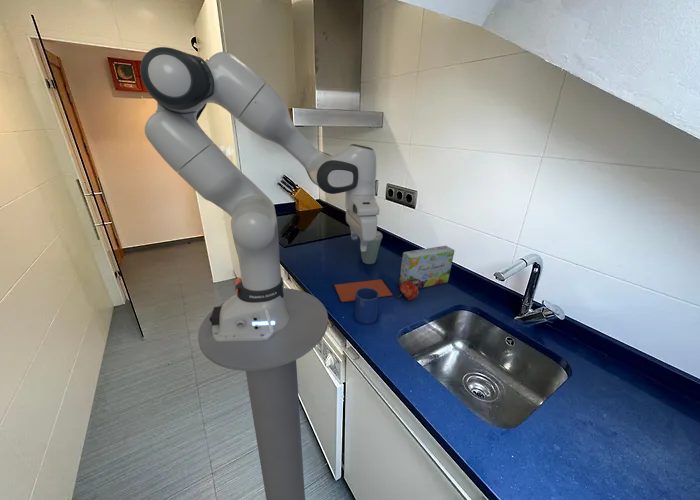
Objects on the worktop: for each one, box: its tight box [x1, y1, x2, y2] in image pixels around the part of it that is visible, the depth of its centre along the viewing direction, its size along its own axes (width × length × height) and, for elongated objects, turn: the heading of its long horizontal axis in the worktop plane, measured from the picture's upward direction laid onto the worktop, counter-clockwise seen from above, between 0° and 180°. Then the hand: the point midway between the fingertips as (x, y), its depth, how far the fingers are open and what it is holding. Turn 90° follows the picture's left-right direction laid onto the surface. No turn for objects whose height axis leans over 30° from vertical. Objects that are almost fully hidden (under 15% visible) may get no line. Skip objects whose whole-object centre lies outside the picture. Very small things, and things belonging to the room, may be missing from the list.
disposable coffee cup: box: [359, 230, 383, 265], centre depth 132 cm, size 11×11×15 cm
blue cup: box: [354, 288, 380, 324], centre depth 94 cm, size 7×7×9 cm
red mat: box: [333, 279, 393, 303], centre depth 111 cm, size 20×12×1 cm, turn 105°
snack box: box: [398, 245, 456, 290], centre depth 113 cm, size 21×6×15 cm, turn 114°
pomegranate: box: [396, 281, 420, 301], centre depth 105 cm, size 7×7×10 cm
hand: (358, 244), depth 91 cm, fingers open, 8 cm apart
